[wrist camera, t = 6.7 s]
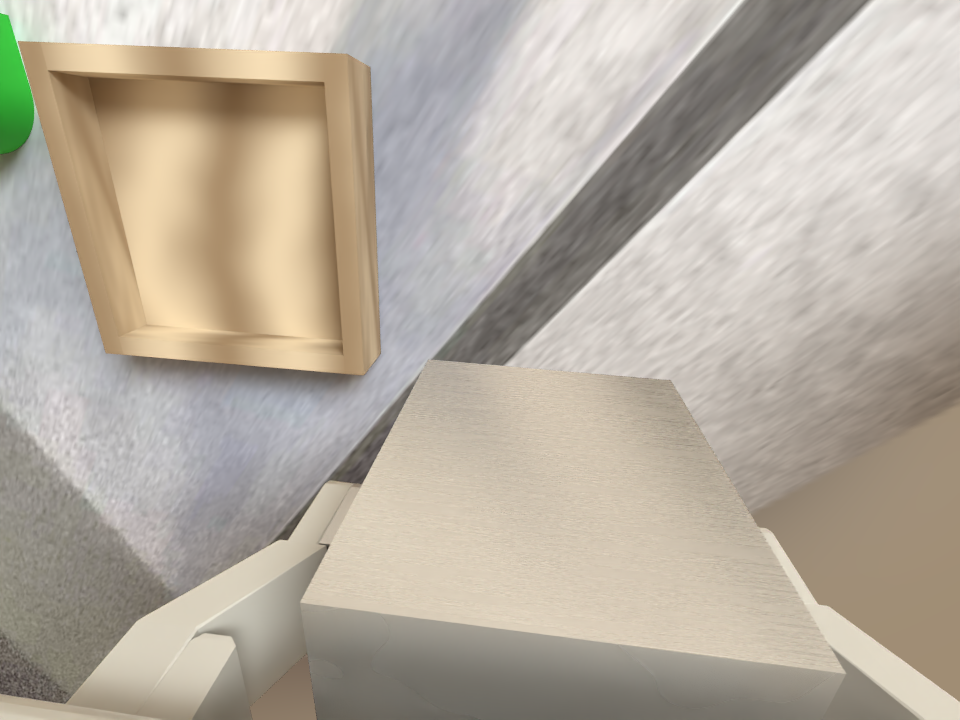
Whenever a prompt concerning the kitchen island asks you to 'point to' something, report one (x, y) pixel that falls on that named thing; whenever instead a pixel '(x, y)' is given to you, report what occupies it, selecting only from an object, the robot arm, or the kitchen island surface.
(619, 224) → the kitchen island surface
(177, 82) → the tray
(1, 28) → the mechanical part
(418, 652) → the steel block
